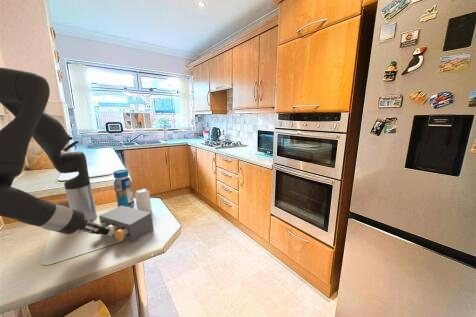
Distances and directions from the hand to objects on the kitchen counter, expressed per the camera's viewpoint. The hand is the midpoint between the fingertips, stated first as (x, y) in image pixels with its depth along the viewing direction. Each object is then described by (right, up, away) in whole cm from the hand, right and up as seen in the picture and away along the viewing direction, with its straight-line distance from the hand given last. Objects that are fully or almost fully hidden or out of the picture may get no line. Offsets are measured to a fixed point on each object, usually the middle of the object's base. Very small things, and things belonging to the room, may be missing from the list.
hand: (107, 232), depth 75 cm
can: (+3, +1, +25) cm, 25 cm away
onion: (-36, 0, +25) cm, 44 cm away
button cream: (+1, -1, +3) cm, 4 cm away
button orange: (+7, -2, 0) cm, 7 cm away
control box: (+4, -3, +8) cm, 9 cm away
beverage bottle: (-12, +2, +33) cm, 35 cm away
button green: (-5, -1, +5) cm, 7 cm away
